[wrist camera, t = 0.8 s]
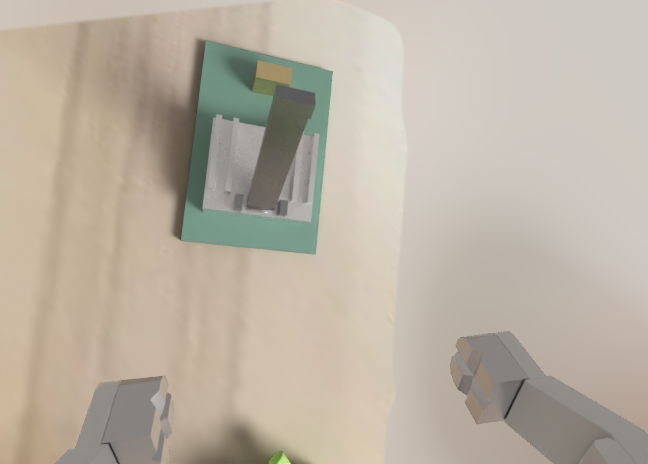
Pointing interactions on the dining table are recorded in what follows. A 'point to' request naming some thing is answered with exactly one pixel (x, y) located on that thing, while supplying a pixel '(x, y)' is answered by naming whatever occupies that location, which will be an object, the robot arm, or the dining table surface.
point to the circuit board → (253, 108)
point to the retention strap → (279, 145)
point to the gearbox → (279, 459)
